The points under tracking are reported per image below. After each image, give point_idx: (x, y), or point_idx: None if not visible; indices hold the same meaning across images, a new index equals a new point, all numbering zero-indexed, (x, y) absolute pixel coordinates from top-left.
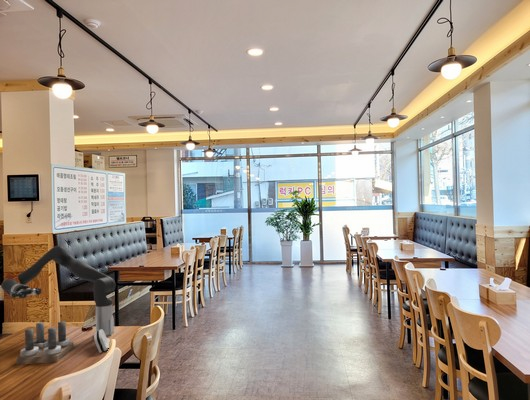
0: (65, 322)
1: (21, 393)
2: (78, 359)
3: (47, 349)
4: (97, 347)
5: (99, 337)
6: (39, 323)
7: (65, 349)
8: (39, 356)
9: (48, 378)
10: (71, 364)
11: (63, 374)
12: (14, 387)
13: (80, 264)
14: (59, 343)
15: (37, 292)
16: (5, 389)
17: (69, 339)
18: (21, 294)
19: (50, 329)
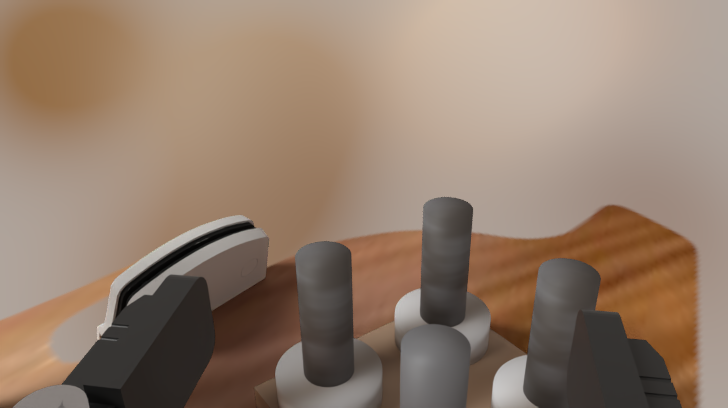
0: (307, 247)
1: (643, 224)
2: (367, 285)
3: (471, 314)
4: (266, 259)
5: (248, 219)
6: (443, 343)
7: (361, 338)
8: (512, 348)
9: (539, 242)
10: (418, 270)
11: (486, 234)
12: (661, 262)
13: None
14: (369, 348)
15: (182, 350)
16: (694, 269)
17: (293, 349)
18: (605, 314)
19: (461, 205)
